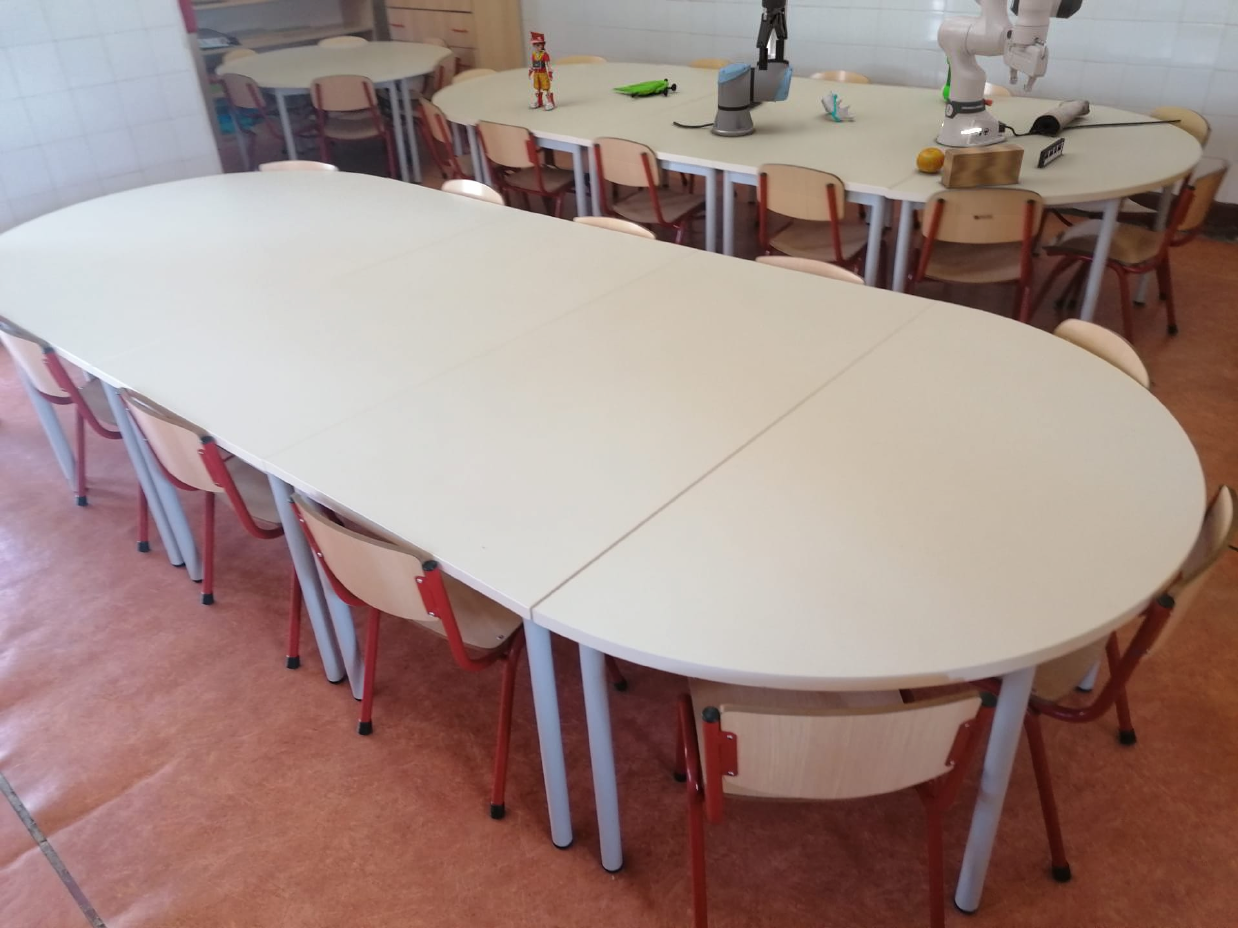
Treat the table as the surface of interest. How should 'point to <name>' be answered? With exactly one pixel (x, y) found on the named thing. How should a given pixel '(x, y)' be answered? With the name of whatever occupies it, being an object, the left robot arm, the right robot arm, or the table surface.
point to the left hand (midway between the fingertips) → (771, 66)
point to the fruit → (930, 160)
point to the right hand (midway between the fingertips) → (1019, 87)
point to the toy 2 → (648, 88)
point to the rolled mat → (1060, 117)
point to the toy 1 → (541, 71)
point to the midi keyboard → (1051, 152)
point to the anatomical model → (835, 107)
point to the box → (982, 166)
